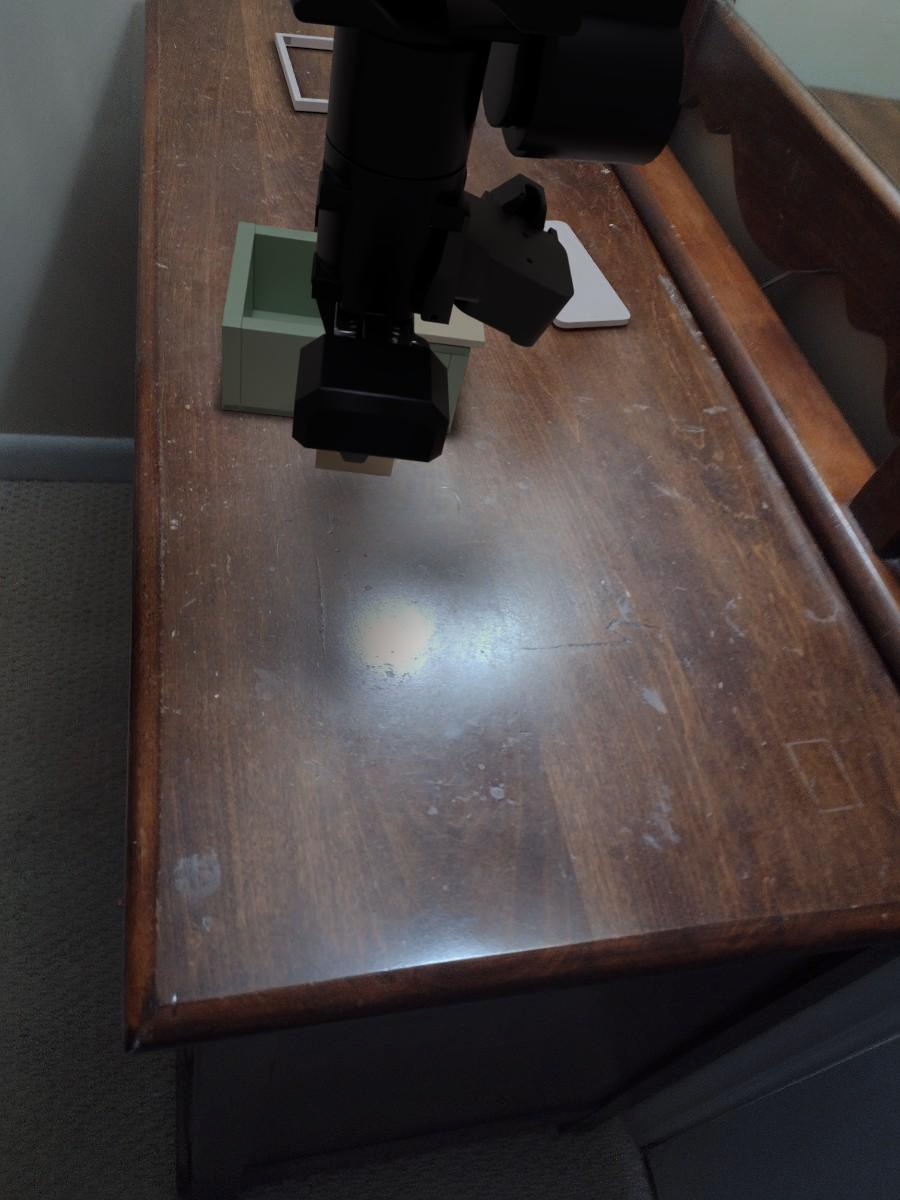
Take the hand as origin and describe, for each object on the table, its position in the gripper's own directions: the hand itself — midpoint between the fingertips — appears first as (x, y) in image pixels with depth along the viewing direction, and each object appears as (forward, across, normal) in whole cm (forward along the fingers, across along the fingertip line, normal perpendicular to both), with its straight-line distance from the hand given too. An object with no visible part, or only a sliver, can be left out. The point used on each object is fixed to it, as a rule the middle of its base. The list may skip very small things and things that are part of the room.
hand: (355, 432), depth 49 cm
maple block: (+1, 0, 0) cm, 1 cm away
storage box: (+11, +19, 0) cm, 22 cm away
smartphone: (+11, +35, -18) cm, 41 cm away
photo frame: (+11, +66, -1) cm, 67 cm away
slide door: (+3, +19, -4) cm, 20 cm away
